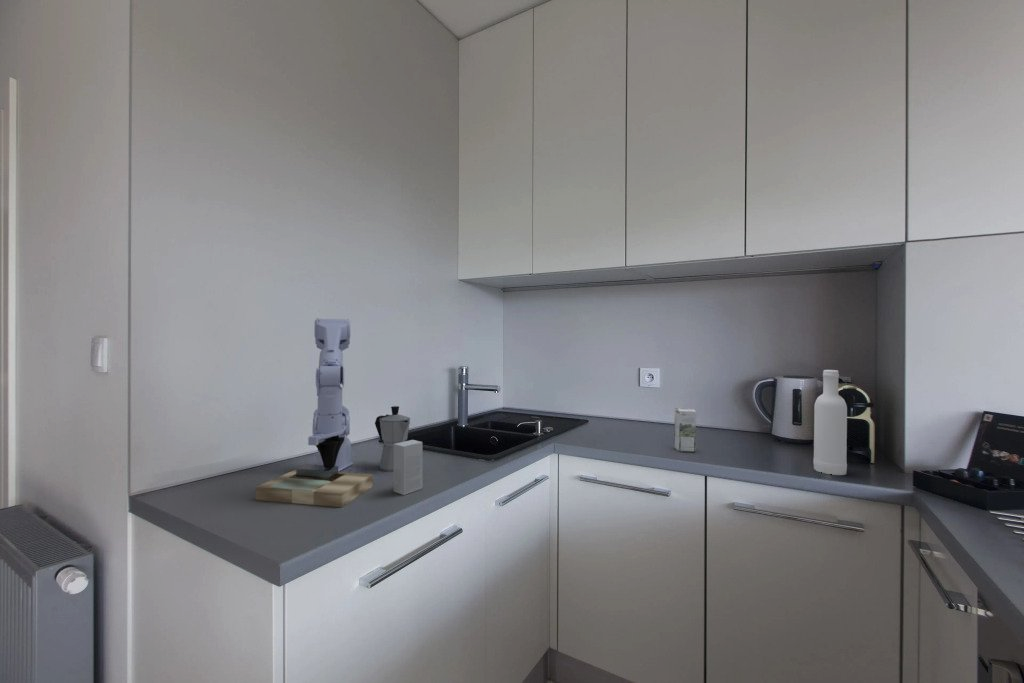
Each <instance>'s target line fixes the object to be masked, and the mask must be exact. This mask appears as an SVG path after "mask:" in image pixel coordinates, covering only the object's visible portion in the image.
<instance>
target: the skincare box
mask: <svg viewBox="0 0 1024 683" xmlns="http://www.w3.org/2000/svg"><path fill="white" fill-rule="evenodd" d="M423 444H424V443H423V441H421V440H420V441H419V440H415V439H410V440H406V441H405V442H400V443H396V444H394V471H393V492H394V493H397V494H399V495H402V496H406V495H408V494H411V493H414V492H417V491H420V490H422V489H423V483H424V482H423V478H424V477H423V470H424V468H423V465H424V464H423V463H424V461H423V460H424V458H423V453H424V452H423V447H424V446H423Z"/></svg>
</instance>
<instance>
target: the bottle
mask: <svg viewBox="0 0 1024 683" xmlns="http://www.w3.org/2000/svg"><path fill="white" fill-rule="evenodd" d="M822 377H823V378H822V380H823V381H822V394H820V395H819V396H817V398H816V399H815V402H814V406H813V407H814V409H813V410H814V411H813V413H814V414H813V417H814V418H813V420H814V423H813V424H814V425H813V429H814V430H813V432H814V434H813V460H812V461H813V462H812V464H813V470H814V471H816V472H818V473H821V472H822V473H821V474H824V475H825V474H826V475H830V474H832V475H831V476H845V475H847V469H848V464H847V463H848V462H847V449H848V447H847V439H848V435H847V434H848V406H847V403H846V401H845V399H844V398H843V397H842V395H839V378H840V374H839V370H837V369H836V370H835V369H823V371H822Z"/></svg>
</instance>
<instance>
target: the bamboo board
mask: <svg viewBox="0 0 1024 683" xmlns="http://www.w3.org/2000/svg"><path fill="white" fill-rule="evenodd" d="M372 487H374V474H372V473H371V474H370V473H355V472H341V471H339V472H338V475H337V476H335V477H333V478H331V479H330V480H324V479H312V478H305V477H296V469H294V470H291V471H289V472H287V473H284V474H282V475H280V476H278V477H276V478H273V479H271V480H268V481H267V482H263V483H262V484H259V485H256V486H255V501H263V502H265V501H266V502H276V503H277V502H278V503H289V504H300V505H301V504H302V505H311V506H324V507H332V508H333V507H335V508H343V507H345V505H347V504H349V503H350V502H352V501H353V500H354V499H356V498H358V497H359V496H361V495H362V494H364V493H365V492H367V491H368V490H369V489H371V488H372Z"/></svg>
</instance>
